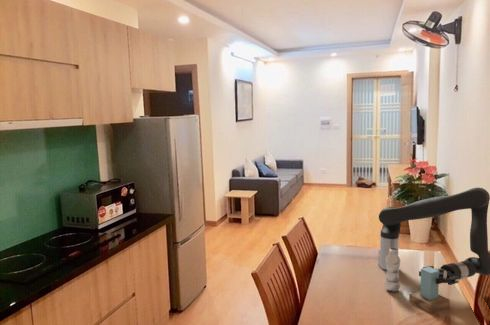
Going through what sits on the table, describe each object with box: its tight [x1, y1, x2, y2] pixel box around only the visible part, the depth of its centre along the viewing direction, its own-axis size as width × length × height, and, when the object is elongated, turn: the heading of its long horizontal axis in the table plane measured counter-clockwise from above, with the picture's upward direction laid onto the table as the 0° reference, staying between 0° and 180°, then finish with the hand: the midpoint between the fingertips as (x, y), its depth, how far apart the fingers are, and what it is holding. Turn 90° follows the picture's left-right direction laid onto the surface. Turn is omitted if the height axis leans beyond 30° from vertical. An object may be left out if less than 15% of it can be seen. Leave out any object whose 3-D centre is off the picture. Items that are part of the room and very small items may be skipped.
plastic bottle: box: [384, 248, 401, 293], centre depth 176 cm, size 6×7×20 cm
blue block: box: [419, 266, 440, 300], centre depth 162 cm, size 5×5×12 cm
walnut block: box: [408, 290, 450, 314], centre depth 163 cm, size 11×11×4 cm
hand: (427, 277), depth 161 cm, fingers open, 8 cm apart
